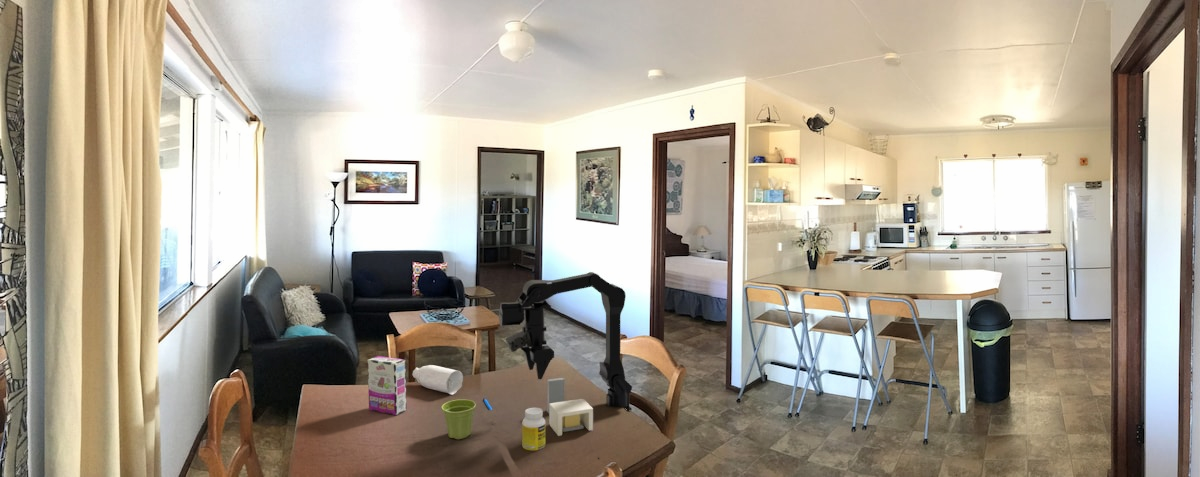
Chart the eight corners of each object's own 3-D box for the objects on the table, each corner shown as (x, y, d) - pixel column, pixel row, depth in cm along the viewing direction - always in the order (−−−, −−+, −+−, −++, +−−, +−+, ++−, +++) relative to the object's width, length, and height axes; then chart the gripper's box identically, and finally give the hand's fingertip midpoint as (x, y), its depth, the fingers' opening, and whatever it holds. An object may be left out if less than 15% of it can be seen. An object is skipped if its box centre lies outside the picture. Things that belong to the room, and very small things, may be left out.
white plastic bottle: (425, 380, 206) (424, 359, 205) (464, 390, 196) (463, 367, 196) (407, 387, 199) (407, 365, 198) (447, 397, 189) (446, 374, 189)
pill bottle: (541, 457, 149) (541, 416, 148) (519, 454, 150) (518, 414, 149) (548, 446, 155) (548, 407, 154) (526, 444, 156) (526, 405, 155)
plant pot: (446, 445, 155) (445, 414, 154) (439, 431, 163) (438, 402, 163) (480, 438, 159) (479, 408, 159) (471, 425, 168) (470, 397, 167)
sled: (564, 410, 178) (564, 377, 177) (583, 431, 163) (583, 396, 162) (546, 412, 176) (545, 379, 175) (563, 435, 161) (563, 398, 160)
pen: (496, 422, 171) (496, 418, 171) (482, 400, 188) (482, 396, 188) (499, 421, 171) (499, 418, 171) (485, 399, 189) (485, 396, 189)
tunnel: (574, 415, 176) (574, 390, 175) (592, 434, 162) (593, 408, 161) (542, 420, 172) (542, 395, 171) (558, 440, 158) (558, 413, 157)
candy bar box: (407, 410, 179) (406, 359, 177) (396, 416, 174) (395, 363, 173) (379, 404, 183) (378, 354, 181) (368, 410, 178) (366, 359, 177)
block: (574, 421, 167) (574, 406, 167) (579, 427, 163) (579, 412, 163) (559, 423, 166) (559, 408, 165) (564, 430, 162) (565, 414, 161)
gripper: (500, 318, 175) (501, 368, 176) (516, 333, 158) (517, 388, 159) (535, 315, 179) (536, 363, 181) (554, 329, 162) (555, 382, 163)
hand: (535, 374), depth 171 cm, fingers open, 9 cm apart
